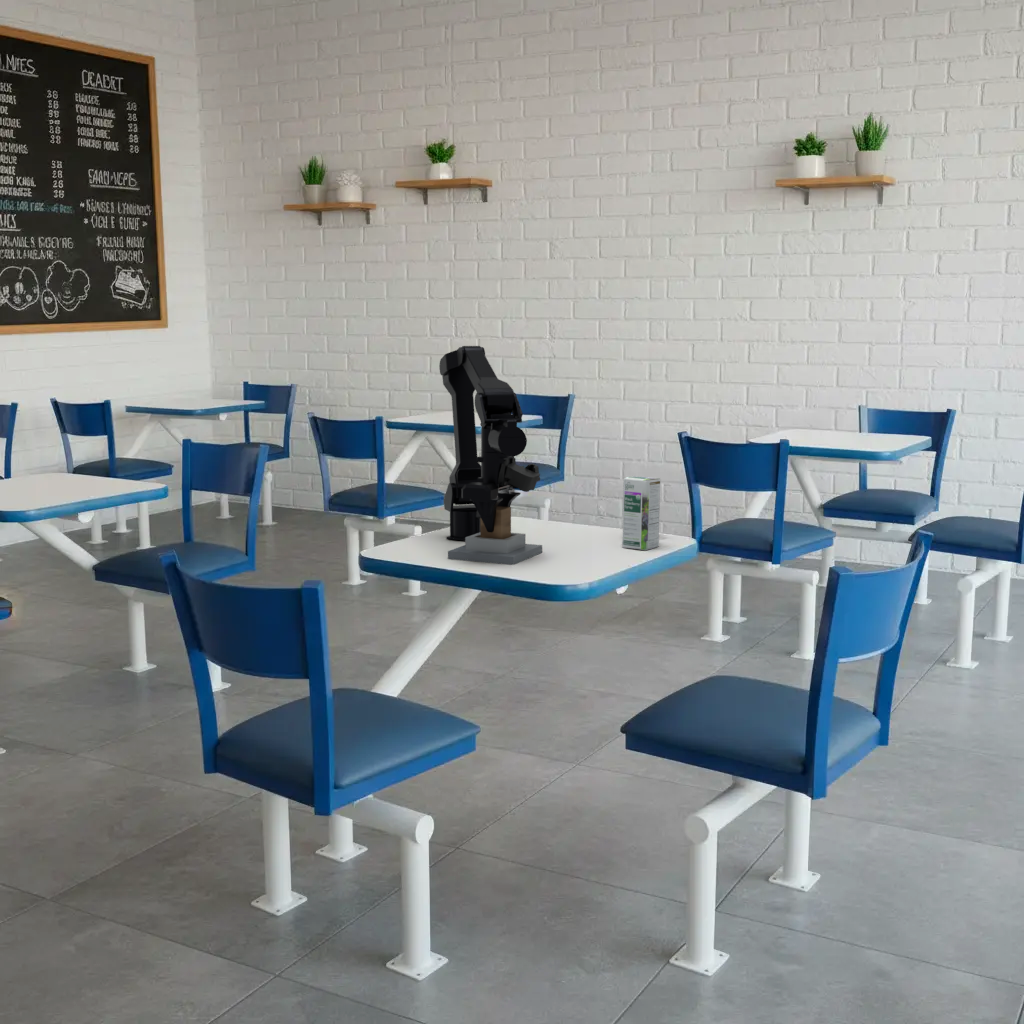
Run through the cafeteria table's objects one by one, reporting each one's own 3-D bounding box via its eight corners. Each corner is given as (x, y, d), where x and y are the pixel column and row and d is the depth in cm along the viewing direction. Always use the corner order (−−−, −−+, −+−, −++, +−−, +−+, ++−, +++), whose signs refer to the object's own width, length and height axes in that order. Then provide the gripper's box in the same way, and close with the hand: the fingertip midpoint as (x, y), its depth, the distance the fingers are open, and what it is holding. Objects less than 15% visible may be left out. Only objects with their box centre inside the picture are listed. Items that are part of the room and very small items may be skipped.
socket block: (447, 558, 237) (447, 538, 237) (479, 547, 250) (479, 527, 249) (513, 564, 232) (513, 543, 231) (542, 552, 244) (542, 532, 244)
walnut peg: (480, 543, 239) (480, 508, 238) (490, 540, 243) (490, 505, 242) (501, 545, 237) (501, 510, 236) (510, 542, 241) (510, 507, 240)
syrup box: (621, 547, 250) (622, 477, 247) (636, 543, 254) (637, 474, 252) (645, 551, 246) (646, 479, 244) (659, 546, 251) (661, 476, 249)
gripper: (513, 458, 226) (513, 540, 228) (552, 448, 243) (551, 526, 245) (460, 455, 230) (460, 536, 233) (501, 446, 247) (501, 522, 250)
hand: (495, 530), depth 240 cm, fingers closed on walnut peg, 4 cm apart
